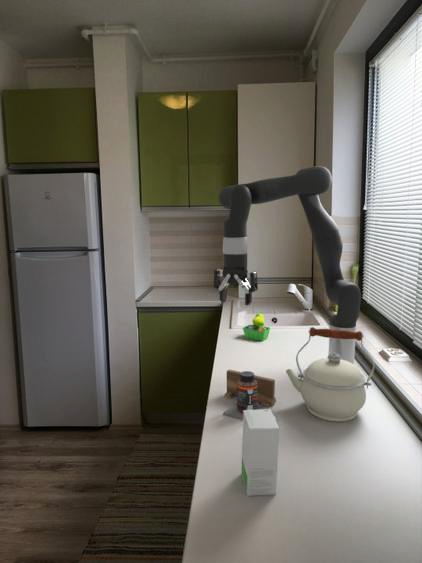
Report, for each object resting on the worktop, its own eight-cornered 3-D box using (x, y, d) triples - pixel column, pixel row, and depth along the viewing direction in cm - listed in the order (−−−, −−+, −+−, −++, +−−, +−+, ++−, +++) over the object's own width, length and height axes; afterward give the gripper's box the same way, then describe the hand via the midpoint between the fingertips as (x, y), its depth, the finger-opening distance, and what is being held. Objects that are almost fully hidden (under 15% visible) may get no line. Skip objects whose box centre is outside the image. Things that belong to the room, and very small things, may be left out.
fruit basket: (241, 338, 196) (241, 315, 194) (250, 334, 204) (250, 311, 202) (264, 342, 190) (264, 318, 188) (272, 337, 198) (272, 314, 196)
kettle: (370, 402, 131) (375, 324, 127) (372, 431, 114) (377, 342, 110) (289, 391, 139) (291, 317, 135) (279, 417, 122) (281, 333, 118)
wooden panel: (232, 390, 140) (232, 367, 139) (277, 401, 132) (277, 377, 130) (223, 396, 135) (223, 373, 134) (269, 409, 127) (269, 384, 125)
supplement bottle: (255, 415, 122) (256, 378, 120) (235, 413, 123) (235, 376, 121) (257, 406, 128) (258, 370, 126) (238, 404, 129) (238, 369, 127)
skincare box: (241, 473, 96) (241, 408, 94) (269, 471, 97) (271, 407, 94) (247, 497, 88) (248, 428, 85) (278, 495, 89) (280, 426, 86)
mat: (239, 401, 132) (239, 399, 132) (269, 409, 127) (269, 407, 127) (223, 414, 124) (223, 412, 124) (253, 423, 118) (253, 421, 118)
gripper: (261, 251, 130) (261, 303, 132) (221, 249, 137) (221, 299, 140) (250, 254, 123) (250, 308, 126) (208, 252, 131) (209, 303, 133)
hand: (235, 303), depth 133 cm, fingers open, 8 cm apart
